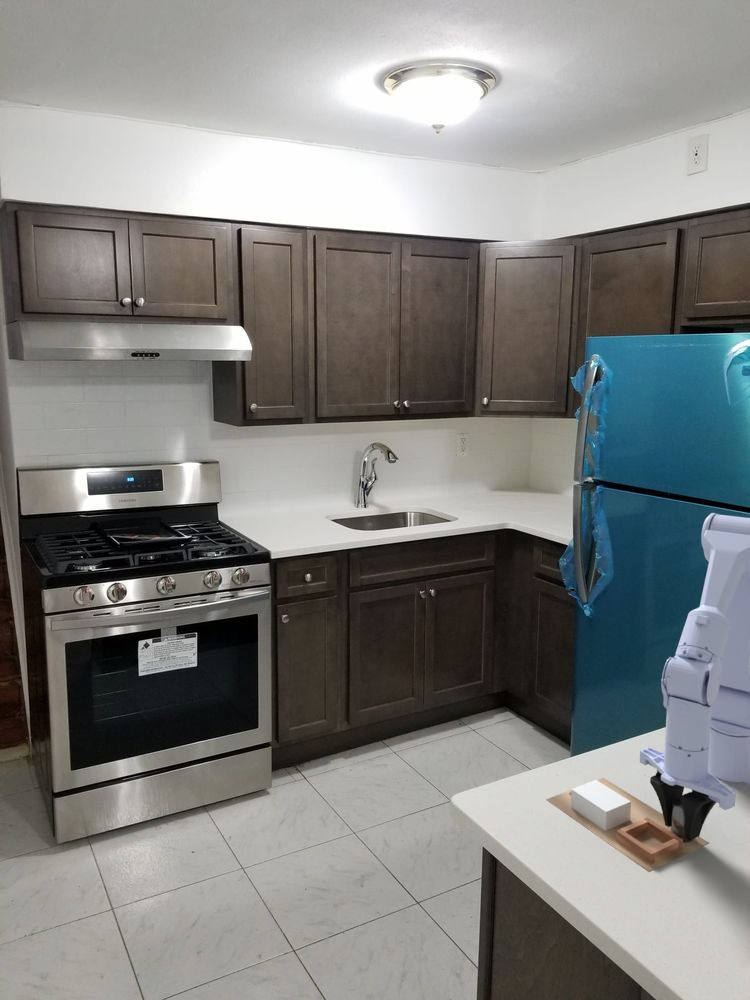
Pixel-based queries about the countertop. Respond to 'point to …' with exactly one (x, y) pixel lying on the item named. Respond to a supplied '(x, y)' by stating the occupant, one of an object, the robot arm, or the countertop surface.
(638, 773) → the countertop surface
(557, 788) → the countertop surface
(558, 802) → the board
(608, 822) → the plain white cuboid
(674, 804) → the grey metal cylinder
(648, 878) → the countertop surface
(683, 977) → the countertop surface
